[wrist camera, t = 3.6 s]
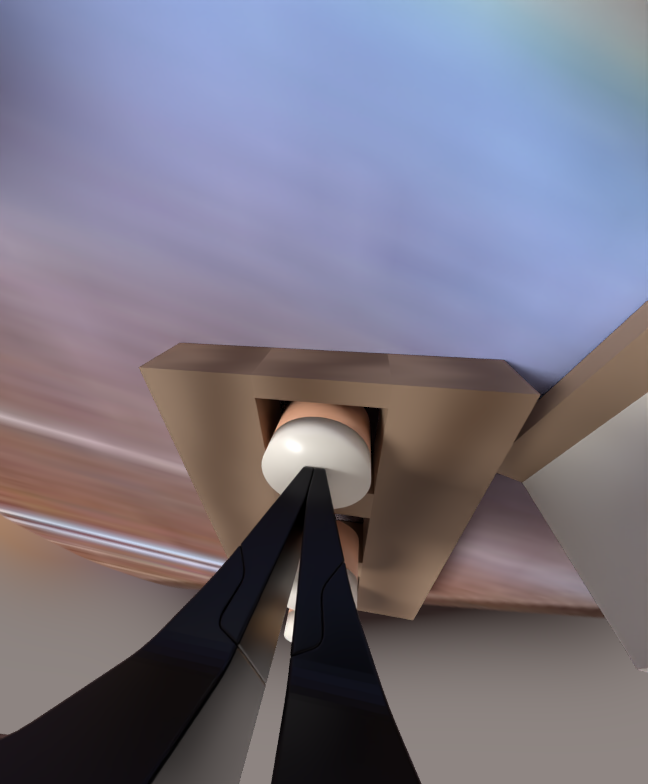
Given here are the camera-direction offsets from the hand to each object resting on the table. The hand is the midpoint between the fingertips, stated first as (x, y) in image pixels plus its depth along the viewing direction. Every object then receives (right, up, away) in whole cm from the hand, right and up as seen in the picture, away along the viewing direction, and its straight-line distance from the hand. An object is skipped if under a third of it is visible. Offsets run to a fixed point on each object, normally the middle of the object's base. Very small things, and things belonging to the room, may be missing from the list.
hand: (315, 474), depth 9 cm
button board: (+1, -4, +7) cm, 8 cm away
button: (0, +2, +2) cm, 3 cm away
